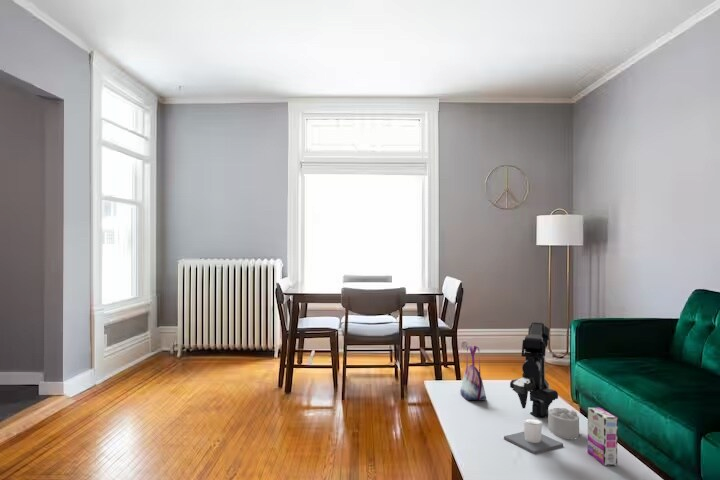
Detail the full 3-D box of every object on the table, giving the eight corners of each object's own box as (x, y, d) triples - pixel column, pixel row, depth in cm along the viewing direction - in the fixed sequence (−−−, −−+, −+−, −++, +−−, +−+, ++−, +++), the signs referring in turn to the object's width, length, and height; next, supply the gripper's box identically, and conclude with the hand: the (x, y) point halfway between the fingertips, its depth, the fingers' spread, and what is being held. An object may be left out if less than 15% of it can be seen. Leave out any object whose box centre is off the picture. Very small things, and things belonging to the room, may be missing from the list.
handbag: (456, 390, 248) (456, 341, 248) (475, 390, 249) (475, 341, 249) (470, 404, 227) (470, 351, 227) (490, 403, 228) (491, 350, 228)
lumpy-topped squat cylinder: (570, 426, 200) (570, 405, 200) (585, 439, 187) (585, 417, 187) (545, 426, 200) (545, 405, 200) (558, 439, 187) (558, 416, 187)
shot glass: (544, 444, 180) (544, 425, 180) (524, 442, 181) (524, 423, 181) (540, 436, 186) (540, 418, 186) (522, 435, 188) (522, 417, 188)
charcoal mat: (532, 432, 194) (532, 429, 194) (563, 446, 180) (563, 443, 180) (503, 438, 187) (503, 436, 187) (534, 453, 173) (534, 451, 173)
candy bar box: (618, 466, 164) (618, 417, 165) (604, 466, 164) (604, 417, 164) (599, 451, 176) (600, 406, 176) (586, 452, 175) (586, 406, 175)
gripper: (499, 367, 188) (499, 407, 188) (537, 379, 172) (537, 423, 171) (520, 364, 193) (520, 403, 193) (559, 375, 177) (559, 418, 177)
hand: (533, 411), depth 183 cm, fingers open, 9 cm apart
